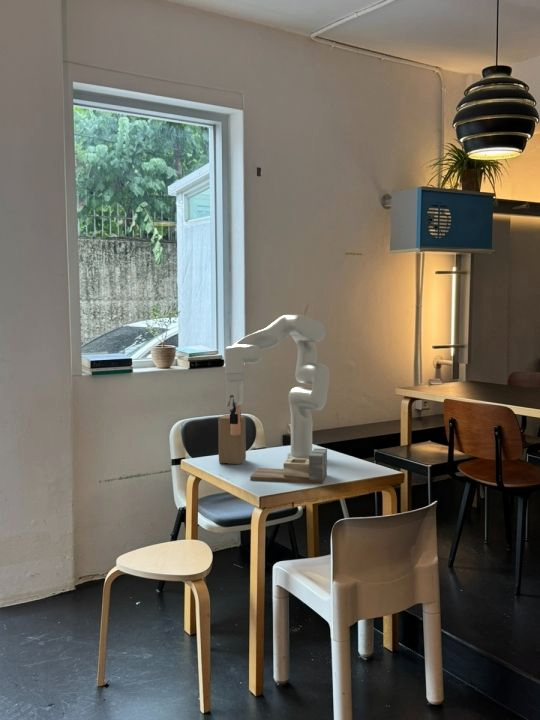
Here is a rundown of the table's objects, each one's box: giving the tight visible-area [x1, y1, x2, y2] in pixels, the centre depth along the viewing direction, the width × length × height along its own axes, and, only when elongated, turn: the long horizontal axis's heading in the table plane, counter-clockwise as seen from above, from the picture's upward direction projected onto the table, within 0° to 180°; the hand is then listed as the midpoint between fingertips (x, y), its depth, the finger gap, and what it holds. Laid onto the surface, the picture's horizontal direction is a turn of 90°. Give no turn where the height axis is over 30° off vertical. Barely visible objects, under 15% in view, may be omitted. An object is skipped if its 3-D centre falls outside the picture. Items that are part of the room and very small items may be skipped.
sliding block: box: [283, 457, 309, 477], centre depth 271 cm, size 10×10×5 cm
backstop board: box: [249, 448, 328, 485], centre depth 271 cm, size 14×28×10 cm, turn 78°
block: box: [217, 414, 247, 465], centre depth 298 cm, size 10×10×20 cm
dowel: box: [230, 403, 241, 435], centre depth 275 cm, size 4×4×13 cm
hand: (235, 422), depth 276 cm, fingers closed on dowel, 4 cm apart
